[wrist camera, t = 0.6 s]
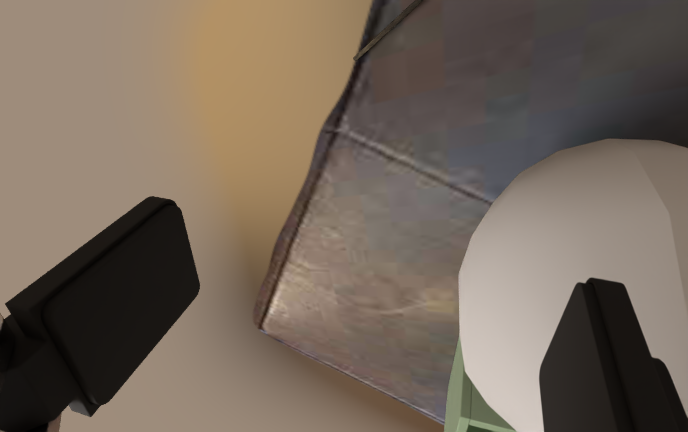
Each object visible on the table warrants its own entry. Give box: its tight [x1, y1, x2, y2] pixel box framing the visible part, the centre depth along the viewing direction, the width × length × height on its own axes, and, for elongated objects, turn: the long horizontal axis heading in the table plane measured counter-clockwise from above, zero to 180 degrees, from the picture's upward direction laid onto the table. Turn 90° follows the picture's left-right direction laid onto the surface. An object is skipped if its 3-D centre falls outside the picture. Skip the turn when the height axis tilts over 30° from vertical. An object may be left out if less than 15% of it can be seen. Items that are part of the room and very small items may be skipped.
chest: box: [444, 335, 517, 432], centre depth 35 cm, size 13×11×12 cm
